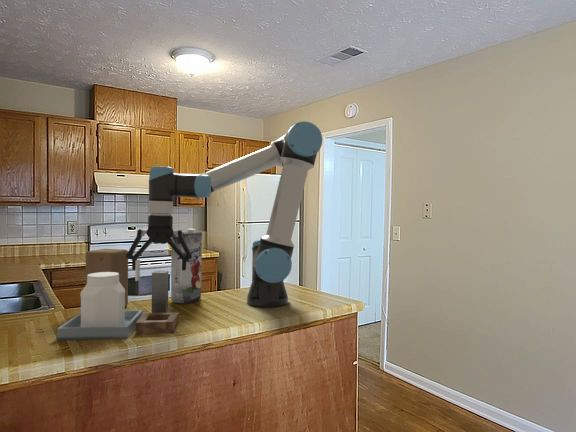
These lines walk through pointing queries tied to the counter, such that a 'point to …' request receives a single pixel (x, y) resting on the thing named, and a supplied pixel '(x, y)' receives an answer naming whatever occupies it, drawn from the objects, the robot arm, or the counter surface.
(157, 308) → the grey block
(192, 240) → the juice carton
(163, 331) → the hollow square tube
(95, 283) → the jar
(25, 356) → the counter surface
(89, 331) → the tray
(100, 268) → the wooden block
